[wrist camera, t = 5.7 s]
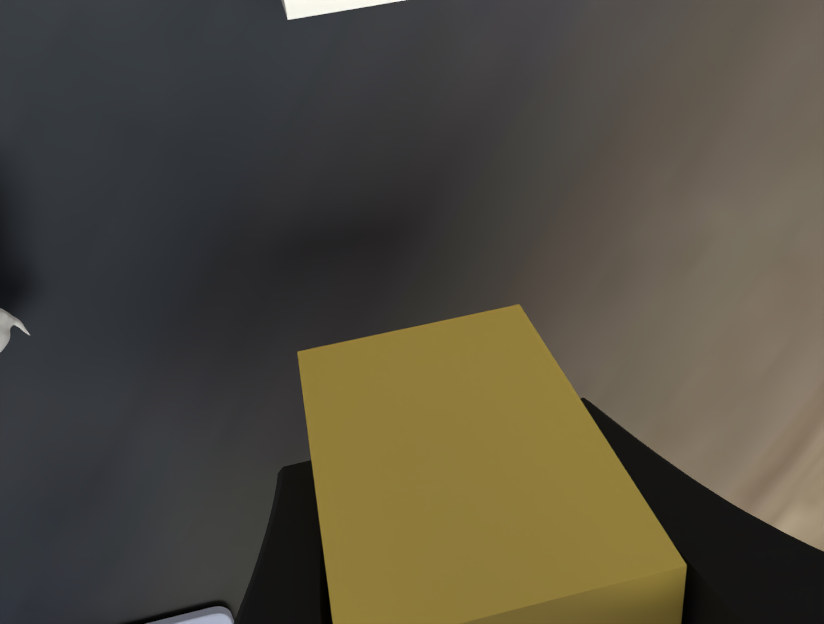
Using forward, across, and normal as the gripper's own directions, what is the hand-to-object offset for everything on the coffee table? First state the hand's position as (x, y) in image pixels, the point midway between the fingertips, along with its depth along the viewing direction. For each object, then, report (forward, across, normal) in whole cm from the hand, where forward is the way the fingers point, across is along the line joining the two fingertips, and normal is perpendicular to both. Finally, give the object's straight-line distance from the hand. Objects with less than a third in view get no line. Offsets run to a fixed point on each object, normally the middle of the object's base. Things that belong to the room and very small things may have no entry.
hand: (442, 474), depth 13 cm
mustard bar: (+2, 0, 0) cm, 2 cm away
